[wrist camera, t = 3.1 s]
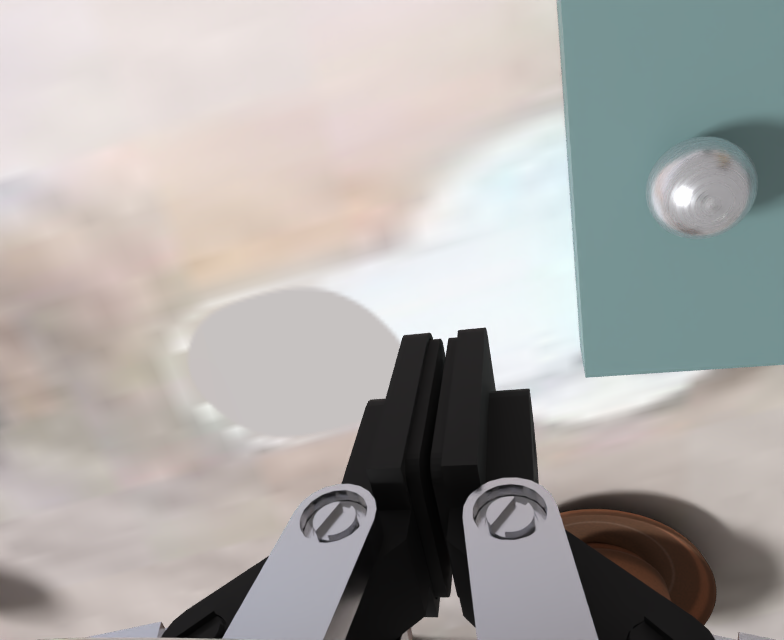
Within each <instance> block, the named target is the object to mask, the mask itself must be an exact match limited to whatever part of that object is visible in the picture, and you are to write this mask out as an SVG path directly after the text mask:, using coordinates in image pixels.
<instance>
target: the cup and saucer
mask: <svg viewBox="0 0 784 640" xmlns="http://www.w3.org/2000/svg"><path fill="white" fill-rule="evenodd" d="M560 516H561V519H562V522H563V526H564V529H565V530H567V531H568V532H570V533H571V534H573V535H574V536H576V537H577V538H579V539H580V540H582V541H583V542H584V543H586V544H587V545H589V546H590V547H592V548H593V549H595V550H596V551H598V552H599V553H601V554H602V555H604V556H605V557H607V558H608V559H609V560H611V561H612V562H614V563H615V564H617V565H618V566H620V567H621V568H623V569H624V570H626V571H627V572H629V573H630V574H632V575H633V576H634V577H636V578H637V579H639V580H640V581H642V582H643V583H645V584H646V585H648V586H649V587H651V588H652V589H654V590H655V591H656V592H658V593H659V594H661V595H662V596H664V597H665V598H667V599H668V600H670V601H671V602H673V603H674V604H676V605H677V606H679V607H680V608H681V609H683V610H684V611H686V612H687V613H689V614H690V615H692V616H693V617H695V618H696V619H697V620H698V621H699V622H700V623H701V624H703V625H705V623H706V622H707V620H708V619H709V617H710V615H711V613H712V611H713V609H714V606H715V601H716V584H715V579H714V576H713V573H712V571H711V569H710V567H709V565H708V563H707V562H706V560H705V559H704V557H703V556H702V554H701V553H700V552H699V550H698V549H697V548H696V547H695V546H694V545H693V544H692V543H691V542H690V541H689V540H688V539H687V538H685V537H684V536H683V535H681V534H680V533H678V532H677V531H675V530H674V529H672V528H670V527H668V526H666V525H664V524H662V523H660V522H658V521H655V520H653V519H650V518H647V517H644V516H641V515H637V514H633V513H629V512H623V511H617V510H609V509H581V510H572V511H567V512H562V513H560Z"/></svg>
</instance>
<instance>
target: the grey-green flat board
mask: <svg viewBox="0 0 784 640" xmlns="http://www.w3.org/2000/svg"><path fill="white" fill-rule="evenodd" d="M557 11H558V26H559V40H560V55H561V69H562V84H563V99H564V113H565V128H566V142H567V157H568V172H569V186H570V201H571V215H572V230H573V245H574V259H575V274H576V289H577V303H578V318H579V332H580V347H581V353H582V359H583V365H584V371H585V376H586V377H602V376H617V375H632V374H647V373H663V372H678V371H693V370H708V369H724V368H739V367H754V366H769V365H784V0H557ZM696 137H718V138H722V139H726V140H728V141H730V142H732V143H734V144H736V145H738V146H739V147H741V148H742V149H743V150H744V151H745V152H746V153H747V154H748V156H749V157H750V158H751V160H752V162H753V163H754V166H755V169H756V172H757V176H758V189H757V195H756V198H755V201H754V204H753V206H752V208H751V209H750V211H749V212H748V214H747V215H746V216H745V218H744V219H743V220H742V221H741V222H740V223H738V224H737V225H736V226H735V227H733V228H732V229H730V230H729V231H727V232H725V233H723V234H720V235H718V236H715V237H711V238H706V239H688V238H682V237H679V236H676V235H674V234H672V233H670V232H668V231H667V230H665V229H663V228H662V227H661V226H660V225H659V224H658V223H657V222H656V220H655V219H654V218H653V216H652V215H651V213H650V211H649V208H648V205H647V201H646V184H647V180H648V177H649V174H650V172H651V170H652V168H653V166H654V165H655V163H656V162H657V160H658V159H659V158H660V157H661V156H662V155H663V154H664V153H665V152H666V151H667V150H669V149H670V148H671V147H673V146H675V145H676V144H678V143H680V142H683V141H685V140H688V139H691V138H696Z"/></svg>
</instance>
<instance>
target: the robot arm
mask: <svg viewBox="0 0 784 640" xmlns="http://www.w3.org/2000/svg"><path fill="white" fill-rule="evenodd" d="M452 574H453V578H454V583H455V587H456V592H457V596H458V597H459V598H460V603H461V607H462V612H463V616H464V617H465V618H466V619H467V620H468V621H469V622H470V623H471V624H472V625H473V626H474V627H475V628H476V634H477V640H735V639H730V638H726V637H721V636H716V635H712V634H711V632H710V631H709V630H708V629H707V628H706V627H705V626H704V625H703V624H701V623H700V622H699V621H698V620H697V619H696V618H695V617H693V616H692V615H690V614H689V613H687V612H686V611H684V610H683V609H681V608H680V607H679V606H677V605H676V604H674V603H673V602H671V601H670V600H668V599H667V598H665V597H664V596H662V595H661V594H659V593H658V592H656V591H655V590H654V589H652V588H651V587H649V586H648V585H646V584H645V583H643V582H642V581H640V580H639V579H637V578H636V577H634V576H633V575H632V574H630V573H629V572H627V571H626V570H624V569H623V568H621V567H620V566H618V565H617V564H615V563H614V562H612V561H611V560H609V559H608V558H607V557H605V556H604V555H602V554H601V553H599V552H598V551H596V550H595V549H593V548H592V547H590V546H589V545H587V544H586V543H584V542H583V541H582V540H580V539H579V538H577V537H576V536H574V535H573V534H571V533H570V532H568V531H567V530H565V529H564V526H563V522H562V519H561V516H560V512H559V509H558V506H557V503H556V501H555V500H554V498H553V496H552V494H551V493H550V492H549V491H547V490H546V489H545V488H544V487H543V486H542V485H539V482H538V467H537V453H536V442H535V432H534V422H533V413H532V405H531V397H530V390H529V389H517V390H503V391H496V389H495V383H494V376H493V369H492V362H491V355H490V349H489V342H488V335H487V330H486V328H477V329H466V330H458V335H457V337H456V338H449V339H448V345H447V351H446V357H445V352H444V347H443V342H442V340H441V339H434V340H433V338H432V335H431V333H423V334H413V335H404V336H403V338H402V341H401V345H400V349H399V352H398V356H397V359H396V363H395V367H394V370H393V374H392V378H391V381H390V385H389V389H388V392H387V396H386V399H374V400H370V401H368V403H367V406H366V408H365V411H364V415H363V418H362V421H361V424H360V427H359V430H358V433H357V437H356V440H355V443H354V446H353V449H352V452H351V456H350V459H349V462H348V465H347V468H346V471H345V475H344V478H343V481H342V484H336V485H332V486H328V487H325V488H322V489H320V490H318V491H316V492H314V493H312V494H311V495H310V496H309V497H307V498H306V499H305V500H304V501H302V502H301V504H300V505H299V506H298V508H297V509H296V510H295V511H294V513H293V515H292V517H291V518H290V520H289V522H288V524H287V526H286V527H285V529H284V531H283V533H282V534H281V536H280V538H279V540H278V541H277V543H276V545H275V547H274V548H273V550H272V552H271V554H270V555H269V556H268V557H267V558H265V559H264V560H262V561H261V562H259V563H258V564H256V565H254V566H253V567H251V568H250V569H248V570H247V571H245V572H244V573H242V574H241V575H239V576H238V577H236V578H235V579H233V580H232V581H230V582H229V583H227V584H226V585H224V586H223V587H221V588H220V589H218V590H217V591H215V592H214V593H212V594H210V595H209V596H207V597H206V598H204V599H203V600H201V601H200V602H198V603H197V604H195V605H194V606H192V607H191V608H189V609H188V610H186V611H185V612H184V613H183V614H181V615H180V616H179V617H178V618H176V619H175V620H174V621H173V622H172V623H171V624H170V626H169V627H168V628H165V627H164V626H163V624H162V622H158V623H153V624H148V625H143V626H139V627H134V628H129V629H124V630H119V631H115V632H110V633H105V634H100V635H96V636H91V637H86V638H61V639H39V640H412V637H413V635H412V630H411V627H412V626H413V625H415V624H416V623H417V622H418V621H420V620H421V619H422V618H423V617H438V612H439V602H440V597H450V593H451V583H452ZM738 640H774V639H770V638H765V637H760V636H755V635H751V634H746V633H741V632H739V633H738Z"/></svg>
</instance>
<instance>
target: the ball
mask: <svg viewBox="0 0 784 640" xmlns="http://www.w3.org/2000/svg"><path fill="white" fill-rule="evenodd" d="M757 189H758V176H757V172H756V169H755V166H754V163H753V162H752V160H751V158H750V157H749V156H748V154H747V153H746V152H745V151H744V150H743V149H742V148H741V147H739V146H738V145H736V144H734V143H732V142H730V141H728V140H726V139H722V138H718V137H696V138H691V139H688V140H685V141H683V142H680V143H678V144H676V145H675V146H673V147H671V148H670V149H669V150H667V151H666V152H665V153H664V154H663V155H662V156H661V157H660V158H659V159H658V160H657V162H656V163H655V165H654V166H653V168H652V170H651V172H650V174H649V177H648V180H647V184H646V201H647V205H648V208H649V211H650V213H651V215H652V216H653V218H654V219H655V220H656V222H657V223H658V224H659V225H660V226H661V227H662V228H663V229H665V230H667V231H668V232H670V233H672V234H674V235H676V236H679V237H682V238H688V239H706V238H711V237H715V236H718V235H720V234H723V233H725V232H727V231H729V230H730V229H732V228H733V227H735V226H736V225H737V224H738V223H740V222H741V221H742V220H743V219H744V218H745V216H746V215H747V214H748V212H749V211H750V209H751V208H752V206H753V204H754V201H755V198H756V195H757Z"/></svg>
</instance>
